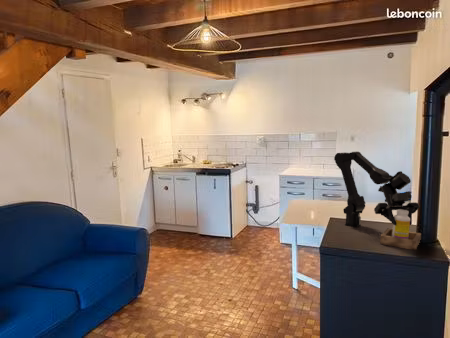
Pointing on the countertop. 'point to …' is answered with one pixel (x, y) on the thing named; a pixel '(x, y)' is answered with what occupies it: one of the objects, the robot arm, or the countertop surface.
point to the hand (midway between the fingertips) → (403, 224)
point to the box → (401, 240)
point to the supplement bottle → (401, 224)
